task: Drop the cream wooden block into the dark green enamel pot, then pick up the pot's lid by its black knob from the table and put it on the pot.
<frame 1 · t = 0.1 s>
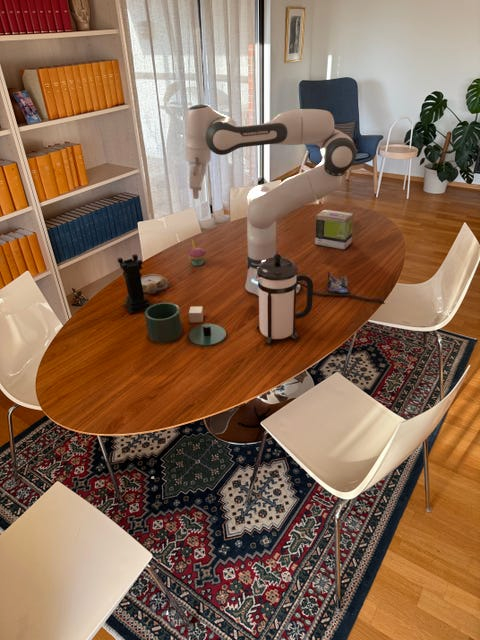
hand: (197, 194, 171), 39 cm above the table, tool pointing down, fingers open, 8 cm apart
cupcake: (198, 263, 211), on the table
tea box: (333, 244, 224), on the table
coffee press: (280, 333, 161), on the table
block: (196, 320, 170), on the table
pot: (165, 334, 163), on the table
chess piece: (138, 307, 180), on the table
lid: (207, 335, 161), point 1 cm above the table
snack package: (337, 289, 186), on the table
alarm clock: (153, 288, 193), on the table
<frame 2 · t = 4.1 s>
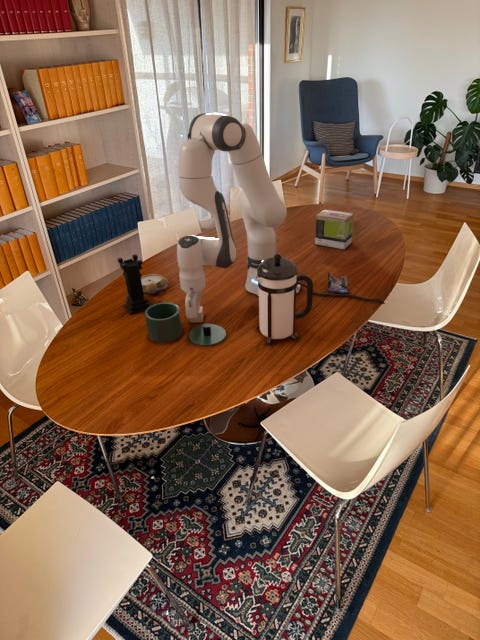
hand: (196, 316, 169), 2 cm above the table, tool pointing down, fingers closed on block, 4 cm apart
block: (196, 320, 170), on the table, touching gripper
everything else where it was.
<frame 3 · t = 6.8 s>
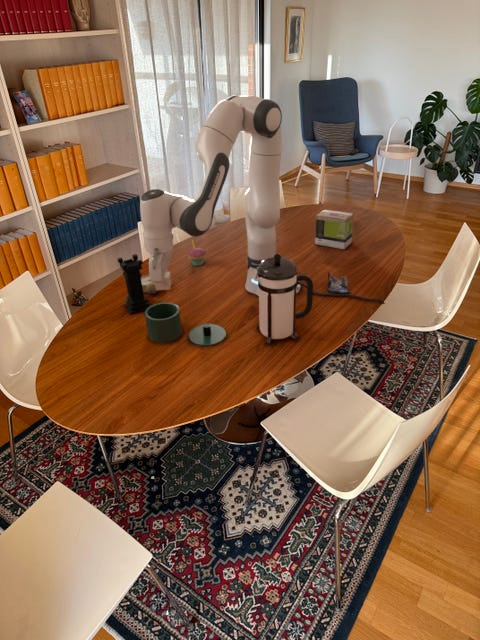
hand: (163, 282, 154), 20 cm above the table, tool pointing down, fingers closed on block, 4 cm apart
block: (164, 286, 155), point 18 cm above the table, touching gripper
everything else where it was.
when the fingers open (10 cm above the table, at t = 9.7 s): block drops 7 cm, resting on pot.
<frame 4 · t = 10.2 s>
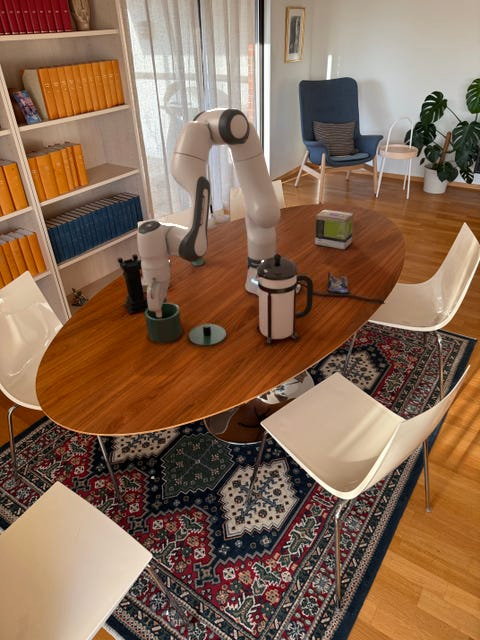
hand: (162, 308, 158), 10 cm above the table, tool pointing down, fingers open, 8 cm apart
block: (165, 332, 163), resting on pot
everything else where it was.
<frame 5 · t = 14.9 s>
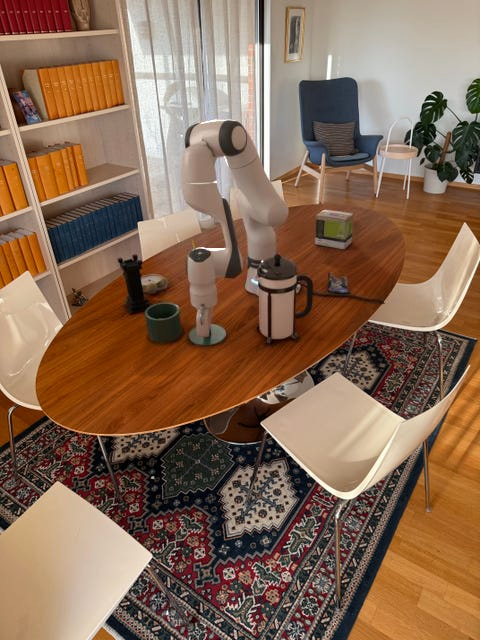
hand: (207, 332, 160), 2 cm above the table, tool pointing down, fingers closed on lid, 2 cm apart
lid: (207, 335, 161), point 1 cm above the table, touching gripper
everything else where it was.
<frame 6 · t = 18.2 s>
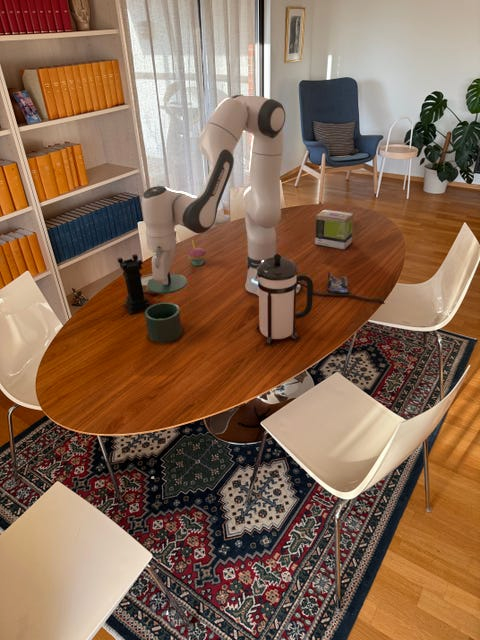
hand: (166, 280, 151), 21 cm above the table, tool pointing down, fingers closed on lid, 2 cm apart
lid: (167, 284, 152), point 20 cm above the table, touching gripper
everything else where it was.
when the fingers open (11 cm above the table, at t = 21.7 s): lid stays where it is, resting on pot.
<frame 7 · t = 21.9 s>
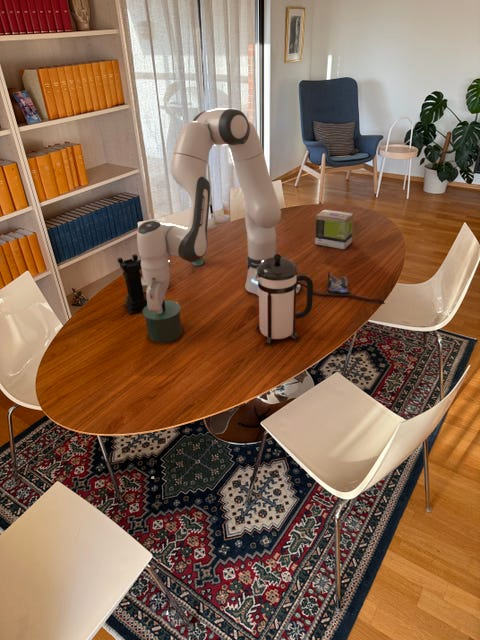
hand: (161, 308, 158), 10 cm above the table, tool pointing down, fingers open, 4 cm apart
lid: (161, 311, 158), point 9 cm above the table, touching pot
everything else where it was.
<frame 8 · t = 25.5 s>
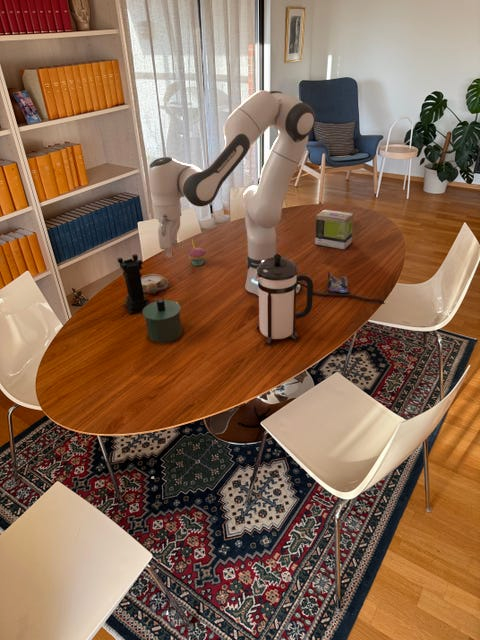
hand: (172, 250, 157), 27 cm above the table, tool pointing down, fingers open, 8 cm apart
nothing on the table moved.
at the end: block inside the target area in the pot (0.2 cm from its centre), point 0.5 cm above the pot's base; lid 0.1 cm off-centre on the pot, point 9.5 cm above the pot's base; lid tilted 0° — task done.
